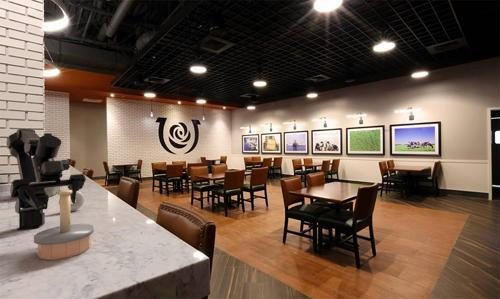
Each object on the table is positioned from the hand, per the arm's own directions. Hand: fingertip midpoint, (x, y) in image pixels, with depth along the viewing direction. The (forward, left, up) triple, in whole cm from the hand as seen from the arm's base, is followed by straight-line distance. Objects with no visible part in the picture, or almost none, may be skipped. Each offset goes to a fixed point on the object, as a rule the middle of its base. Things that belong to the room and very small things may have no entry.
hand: (56, 205), depth 78 cm
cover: (+4, -7, -7) cm, 11 cm away
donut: (-7, +47, -12) cm, 49 cm away
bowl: (+4, -7, -12) cm, 15 cm away
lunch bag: (-36, +104, -12) cm, 110 cm away
